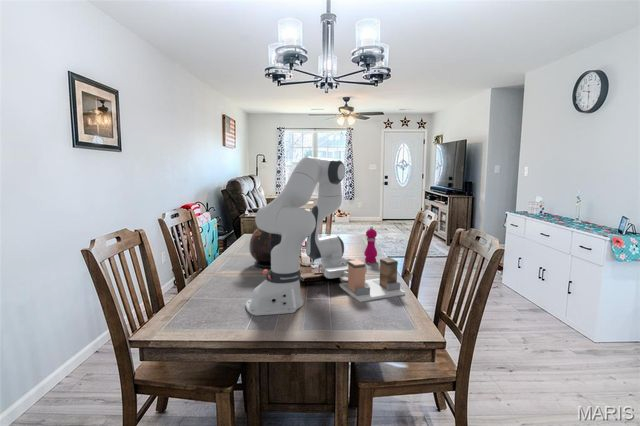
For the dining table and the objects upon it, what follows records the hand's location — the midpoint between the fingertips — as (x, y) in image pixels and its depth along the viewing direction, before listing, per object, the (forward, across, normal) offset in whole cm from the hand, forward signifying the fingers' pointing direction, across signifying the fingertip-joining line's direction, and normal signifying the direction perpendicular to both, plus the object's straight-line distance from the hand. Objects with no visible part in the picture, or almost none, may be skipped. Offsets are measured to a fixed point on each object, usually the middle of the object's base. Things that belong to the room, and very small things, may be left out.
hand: (352, 276), depth 156 cm
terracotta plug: (+3, 0, +5) cm, 6 cm away
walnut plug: (+5, +15, +5) cm, 17 cm away
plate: (+3, +8, +6) cm, 10 cm away
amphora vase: (-49, -25, +7) cm, 56 cm away
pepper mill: (-36, +30, +7) cm, 48 cm away
